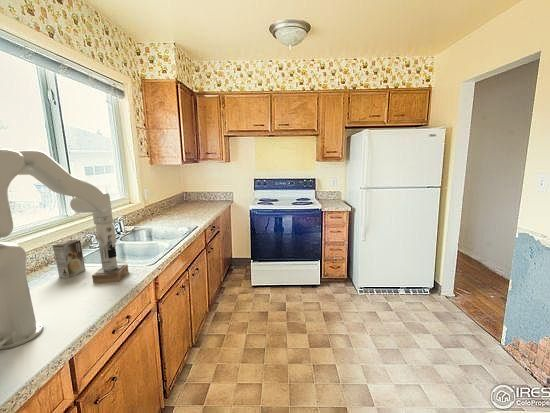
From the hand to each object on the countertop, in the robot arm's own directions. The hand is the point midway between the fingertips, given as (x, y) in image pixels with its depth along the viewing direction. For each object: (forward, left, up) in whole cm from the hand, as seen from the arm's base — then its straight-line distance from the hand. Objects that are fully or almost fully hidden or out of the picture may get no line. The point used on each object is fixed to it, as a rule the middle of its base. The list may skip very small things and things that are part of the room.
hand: (108, 255), depth 129 cm
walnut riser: (0, 0, -11) cm, 11 cm away
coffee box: (+8, +22, -11) cm, 26 cm away
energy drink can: (0, 0, -7) cm, 7 cm away
